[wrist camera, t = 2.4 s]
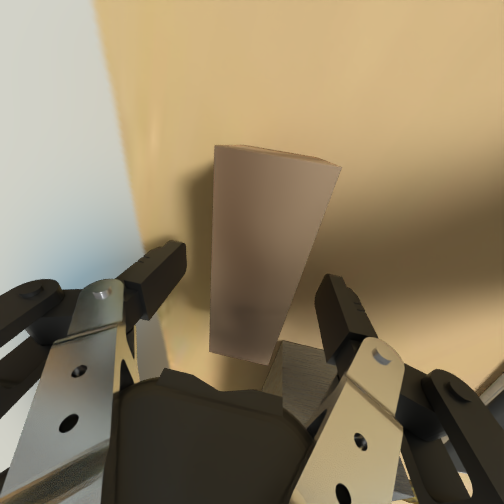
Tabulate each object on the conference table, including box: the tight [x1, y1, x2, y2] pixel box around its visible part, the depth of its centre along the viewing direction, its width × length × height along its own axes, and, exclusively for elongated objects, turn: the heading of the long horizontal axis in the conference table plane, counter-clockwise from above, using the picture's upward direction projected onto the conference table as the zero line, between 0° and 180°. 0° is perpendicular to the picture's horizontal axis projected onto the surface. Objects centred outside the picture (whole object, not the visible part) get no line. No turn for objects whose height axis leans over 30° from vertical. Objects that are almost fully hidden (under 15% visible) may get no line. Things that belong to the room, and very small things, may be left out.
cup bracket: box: [261, 341, 415, 501], centre depth 18 cm, size 8×16×8 cm, turn 171°
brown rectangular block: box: [209, 145, 342, 366], centre depth 11 cm, size 4×12×5 cm, turn 172°
